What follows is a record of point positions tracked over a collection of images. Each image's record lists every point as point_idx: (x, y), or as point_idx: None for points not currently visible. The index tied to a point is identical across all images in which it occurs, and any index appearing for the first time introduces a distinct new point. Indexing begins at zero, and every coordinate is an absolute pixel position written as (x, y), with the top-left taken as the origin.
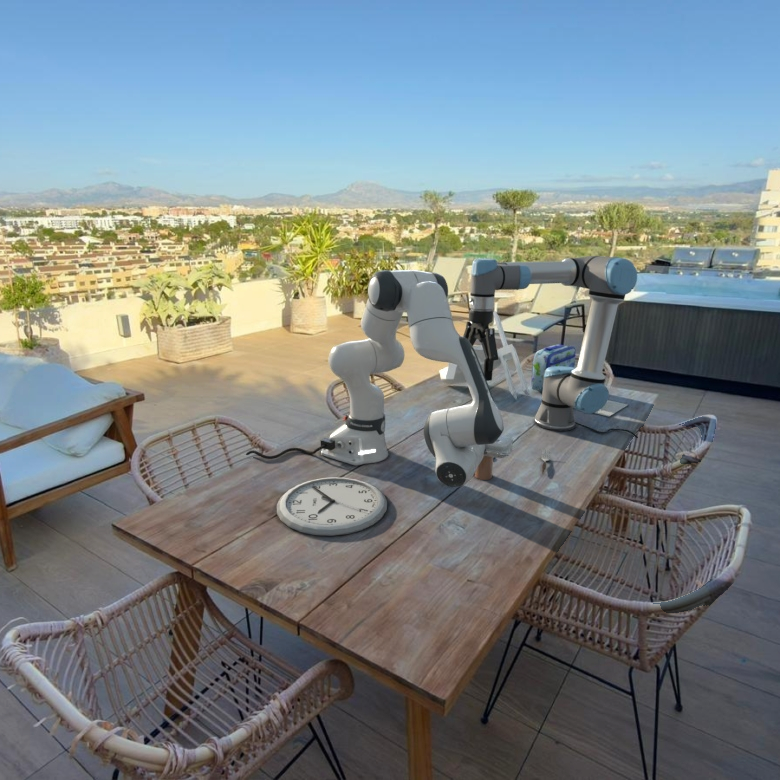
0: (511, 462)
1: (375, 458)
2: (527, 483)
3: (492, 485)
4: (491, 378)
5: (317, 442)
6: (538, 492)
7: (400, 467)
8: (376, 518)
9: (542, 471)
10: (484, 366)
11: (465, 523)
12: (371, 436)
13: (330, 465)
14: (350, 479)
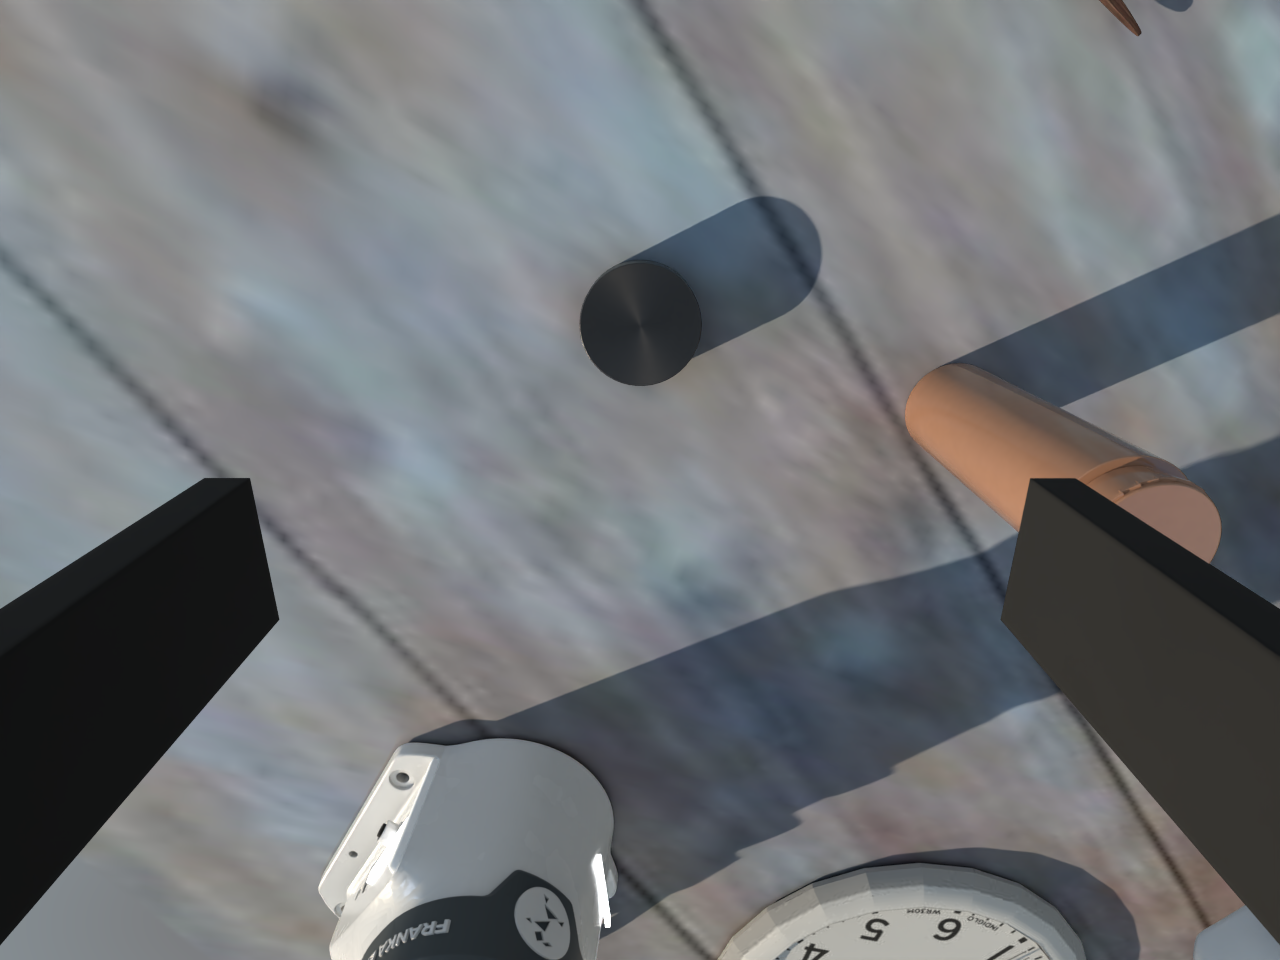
0: (872, 130)
1: (606, 826)
2: (1150, 208)
3: None
4: (1097, 503)
5: (323, 952)
6: (1266, 211)
7: (693, 733)
8: (1068, 933)
9: (1122, 16)
10: (1204, 829)
11: None
12: (583, 942)
13: None
14: (776, 953)
